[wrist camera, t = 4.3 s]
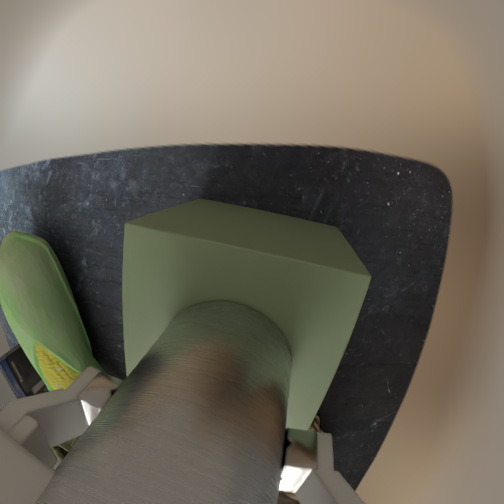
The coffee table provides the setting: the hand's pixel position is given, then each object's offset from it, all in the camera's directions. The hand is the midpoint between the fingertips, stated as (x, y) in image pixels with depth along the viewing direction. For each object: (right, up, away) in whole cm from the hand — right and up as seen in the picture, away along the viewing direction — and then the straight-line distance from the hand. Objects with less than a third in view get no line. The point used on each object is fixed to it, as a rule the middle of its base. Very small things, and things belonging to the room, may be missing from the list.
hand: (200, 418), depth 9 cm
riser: (+2, +4, +13) cm, 14 cm away
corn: (-17, -1, +18) cm, 25 cm away
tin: (+1, +1, +3) cm, 4 cm away
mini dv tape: (-28, -10, +22) cm, 37 cm away
